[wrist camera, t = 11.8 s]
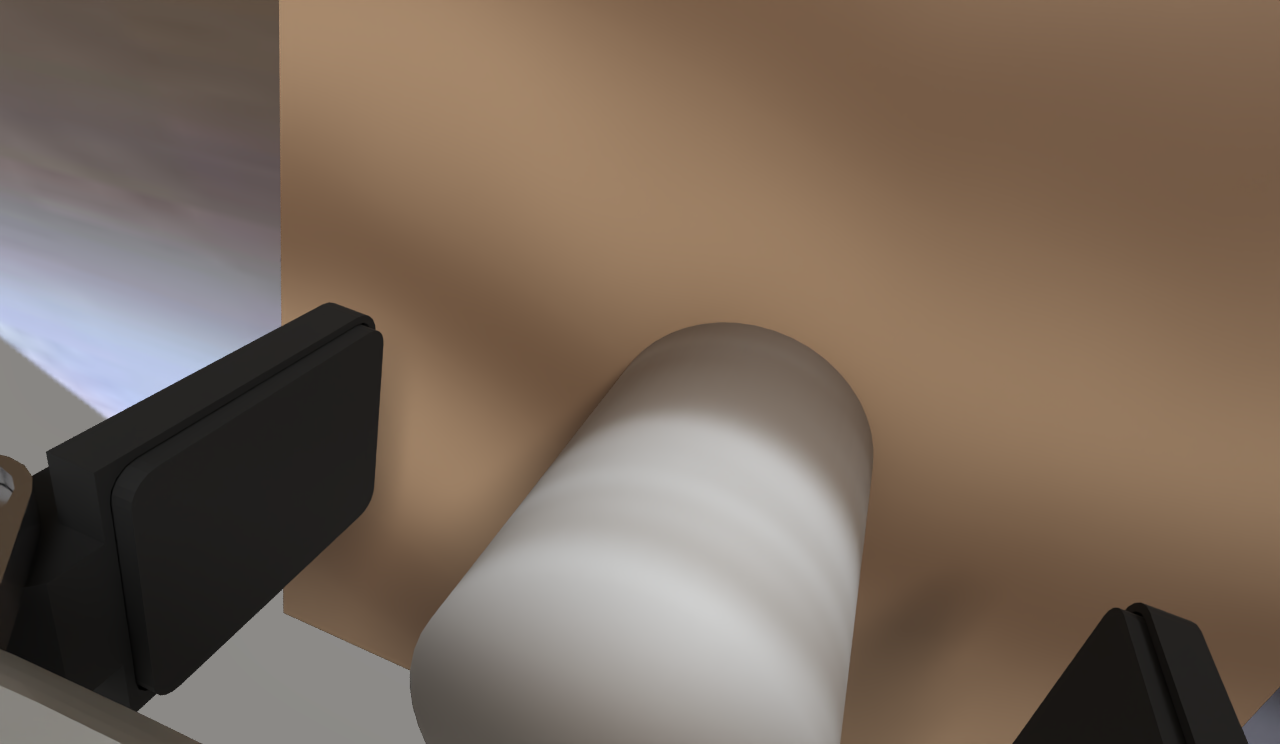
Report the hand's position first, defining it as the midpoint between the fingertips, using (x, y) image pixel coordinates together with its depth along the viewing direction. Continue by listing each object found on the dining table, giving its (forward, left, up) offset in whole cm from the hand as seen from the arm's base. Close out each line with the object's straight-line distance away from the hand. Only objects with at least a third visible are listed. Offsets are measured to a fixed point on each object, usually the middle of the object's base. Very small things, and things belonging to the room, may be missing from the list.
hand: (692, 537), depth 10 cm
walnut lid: (0, 0, -4) cm, 4 cm away
